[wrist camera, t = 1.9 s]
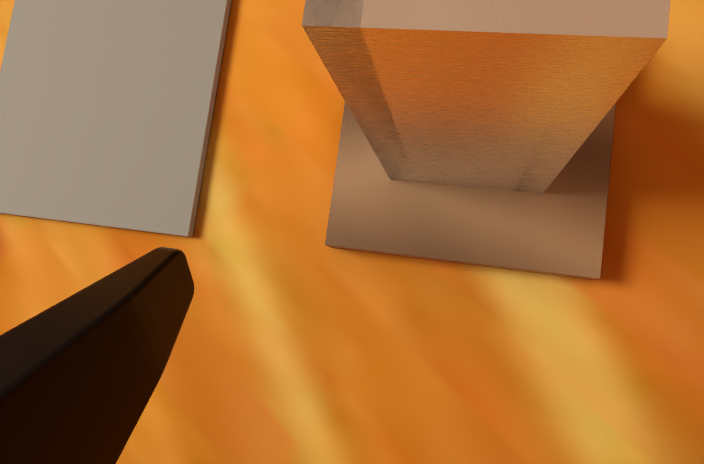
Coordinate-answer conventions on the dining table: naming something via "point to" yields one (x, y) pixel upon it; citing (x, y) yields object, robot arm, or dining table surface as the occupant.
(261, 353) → the dining table surface
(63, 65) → the slate mat
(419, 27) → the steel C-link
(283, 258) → the dining table surface
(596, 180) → the walnut stand
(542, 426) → the dining table surface
